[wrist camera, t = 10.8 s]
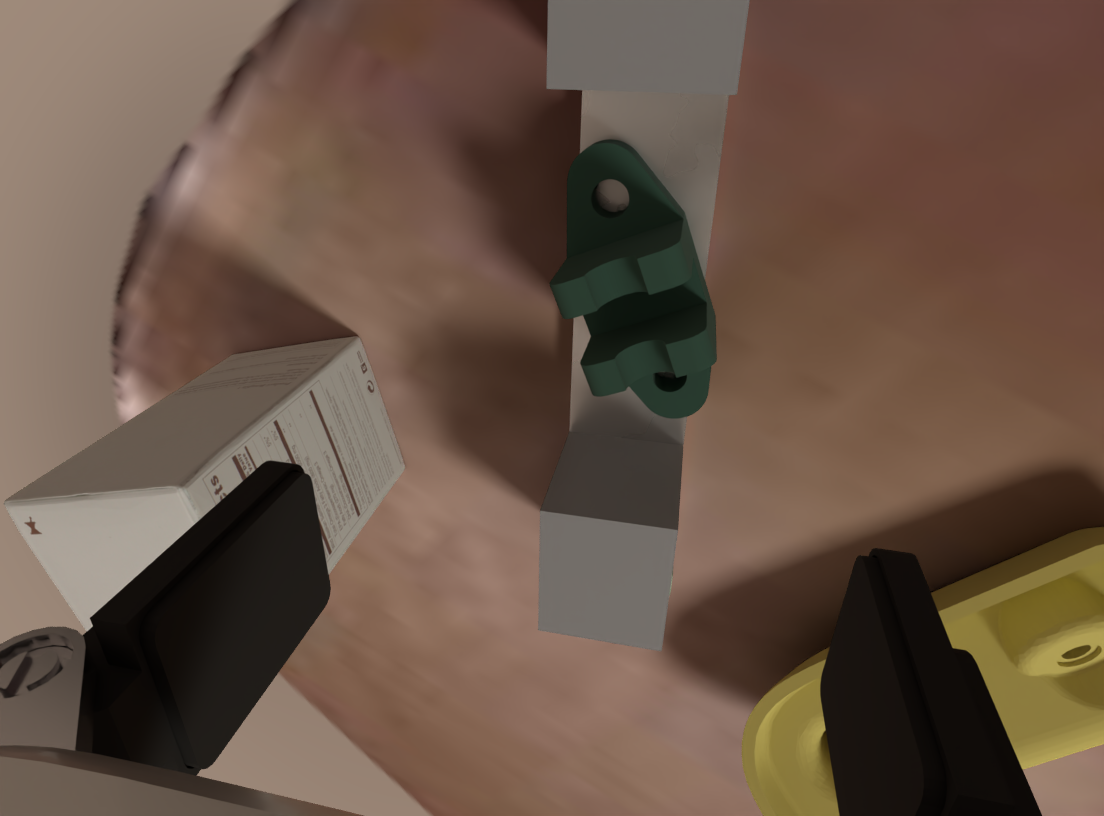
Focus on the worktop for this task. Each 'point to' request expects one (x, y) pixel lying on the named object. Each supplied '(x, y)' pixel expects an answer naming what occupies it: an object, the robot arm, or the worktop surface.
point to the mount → (636, 286)
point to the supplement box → (213, 465)
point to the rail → (678, 162)
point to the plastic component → (1001, 654)
